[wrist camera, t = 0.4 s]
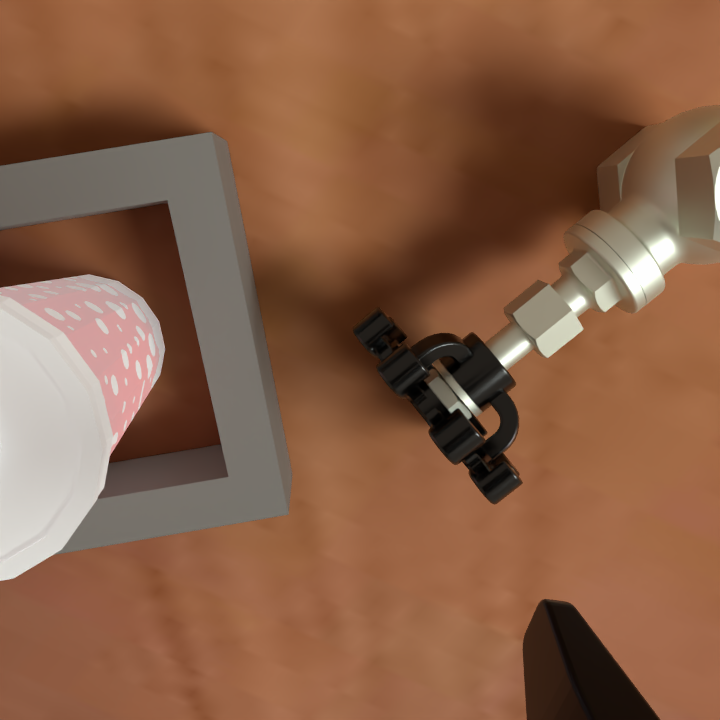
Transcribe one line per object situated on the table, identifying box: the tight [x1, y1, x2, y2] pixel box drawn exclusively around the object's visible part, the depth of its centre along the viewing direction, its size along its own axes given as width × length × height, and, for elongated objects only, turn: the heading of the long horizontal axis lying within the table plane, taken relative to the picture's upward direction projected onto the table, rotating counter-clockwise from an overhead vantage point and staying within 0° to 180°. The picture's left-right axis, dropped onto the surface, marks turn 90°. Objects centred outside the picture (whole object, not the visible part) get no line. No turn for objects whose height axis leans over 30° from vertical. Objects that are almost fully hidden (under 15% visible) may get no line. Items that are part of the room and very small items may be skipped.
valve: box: [353, 105, 720, 504], centre depth 19 cm, size 7×7×12 cm
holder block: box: [0, 132, 292, 555], centre depth 20 cm, size 11×11×3 cm
